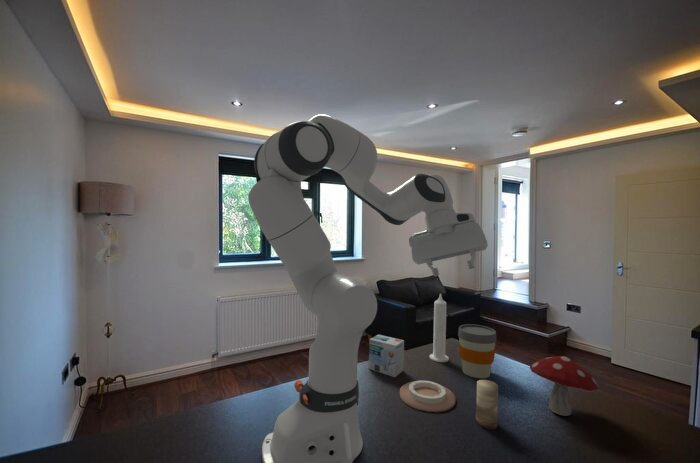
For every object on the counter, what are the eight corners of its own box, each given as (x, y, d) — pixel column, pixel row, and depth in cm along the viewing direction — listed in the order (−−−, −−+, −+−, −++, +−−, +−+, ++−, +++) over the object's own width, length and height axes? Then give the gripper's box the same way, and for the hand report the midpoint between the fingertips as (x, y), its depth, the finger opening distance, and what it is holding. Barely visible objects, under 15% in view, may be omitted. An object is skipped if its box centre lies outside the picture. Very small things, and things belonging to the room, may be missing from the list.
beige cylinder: (486, 431, 79) (487, 390, 79) (471, 419, 84) (472, 381, 84) (502, 426, 81) (503, 387, 81) (486, 415, 86) (487, 378, 86)
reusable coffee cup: (491, 366, 116) (492, 325, 116) (499, 383, 104) (500, 337, 104) (455, 362, 119) (456, 322, 119) (458, 378, 107) (460, 333, 107)
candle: (449, 363, 119) (451, 296, 118) (429, 361, 120) (431, 295, 120) (447, 355, 126) (449, 292, 125) (429, 354, 127) (430, 291, 127)
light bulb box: (367, 369, 112) (368, 338, 112) (377, 362, 118) (378, 333, 118) (395, 377, 106) (396, 345, 106) (404, 370, 112) (404, 340, 112)
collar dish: (419, 417, 84) (419, 408, 84) (389, 388, 99) (390, 380, 99) (467, 405, 90) (467, 397, 90) (433, 380, 105) (433, 373, 105)
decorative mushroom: (520, 393, 98) (522, 344, 98) (578, 399, 95) (580, 349, 95) (542, 424, 82) (543, 366, 82) (612, 433, 79) (614, 373, 79)
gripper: (405, 231, 93) (413, 276, 87) (478, 212, 86) (493, 259, 80) (410, 239, 98) (418, 282, 92) (480, 221, 91) (493, 267, 85)
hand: (453, 271), depth 86 cm, fingers open, 8 cm apart
